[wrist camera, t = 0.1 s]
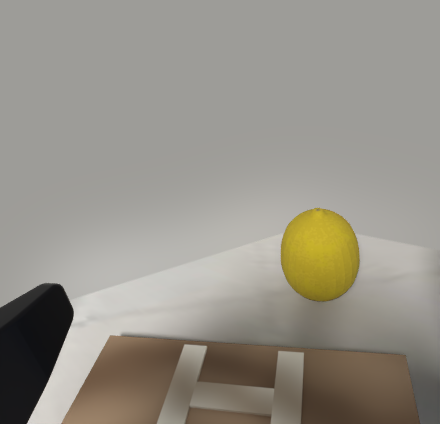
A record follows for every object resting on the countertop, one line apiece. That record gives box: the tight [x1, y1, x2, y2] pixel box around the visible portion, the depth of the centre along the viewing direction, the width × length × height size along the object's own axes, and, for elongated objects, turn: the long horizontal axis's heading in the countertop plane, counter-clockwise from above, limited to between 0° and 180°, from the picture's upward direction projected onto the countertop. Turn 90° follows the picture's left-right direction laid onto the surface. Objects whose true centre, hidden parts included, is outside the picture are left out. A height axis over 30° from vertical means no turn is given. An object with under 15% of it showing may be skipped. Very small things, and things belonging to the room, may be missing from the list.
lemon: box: [281, 208, 360, 301], centre depth 29 cm, size 6×6×8 cm
